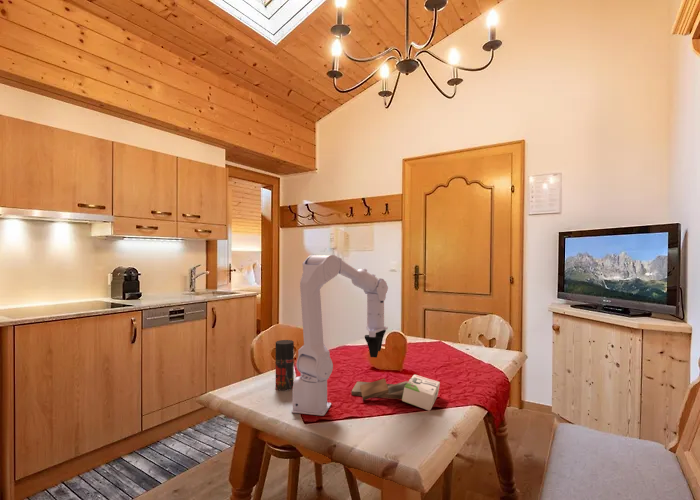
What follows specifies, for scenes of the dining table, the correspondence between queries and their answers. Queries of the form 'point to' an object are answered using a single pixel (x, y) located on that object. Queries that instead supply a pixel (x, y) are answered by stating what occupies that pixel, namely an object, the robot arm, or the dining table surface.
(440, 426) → the dining table surface
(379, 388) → the blocks
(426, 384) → the ink box
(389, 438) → the dining table surface
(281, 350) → the deodorant
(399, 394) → the board
